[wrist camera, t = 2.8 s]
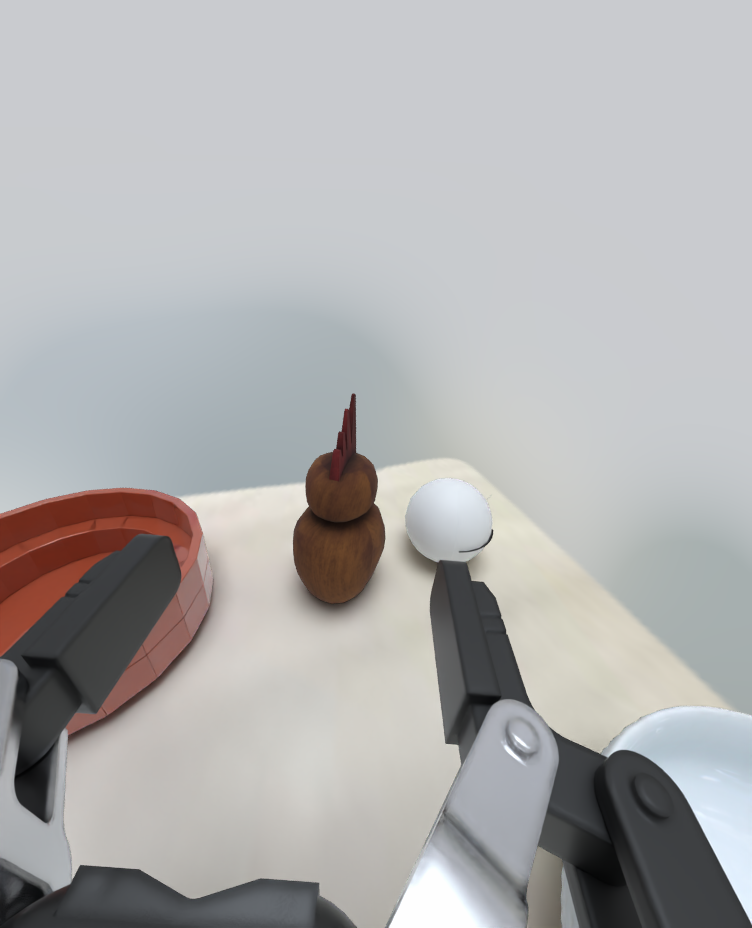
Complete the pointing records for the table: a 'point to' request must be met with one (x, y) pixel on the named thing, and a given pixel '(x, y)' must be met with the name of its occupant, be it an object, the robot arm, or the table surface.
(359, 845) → the table surface
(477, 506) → the white oval solid
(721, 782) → the cereal bowl
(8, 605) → the bowl
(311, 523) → the wooden figurine
